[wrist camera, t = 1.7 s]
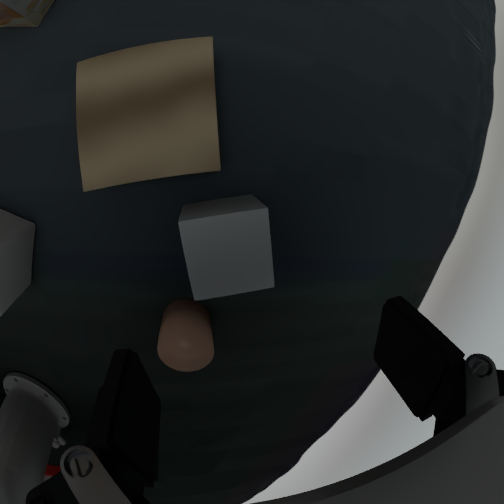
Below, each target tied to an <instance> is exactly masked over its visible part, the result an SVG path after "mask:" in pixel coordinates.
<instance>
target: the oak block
mask: <svg viewBox="0 0 504 504" xmlns="http://www.w3.org/2000/svg"><path fill="white" fill-rule="evenodd" d="M76 117H77V136H78V149H79V159H80V168H81V176H82V183H83V190H84V192H85V191H90V190H95V189H100V188H104V187H110V186H115V185H120V184H126V183H131V182H137V181H143V180H149V179H156V178H163V177H170V176H177V175H185V174H193V173H201V172H210V171H220V170H221V167H220V154H219V141H218V126H217V111H216V95H215V78H214V59H213V37H199V38H189V39H180V40H172V41H165V42H158V43H153V44H147V45H142V46H137V47H132V48H128V49H123V50H119V51H115V52H111V53H107V54H104V55H100V56H97V57H93V58H90V59H87V60H84V61H81V62H78V63H77V74H76Z"/></svg>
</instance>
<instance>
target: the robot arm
mask: <svg viewBox="0 0 504 504" xmlns="http://www.w3.org/2000/svg"><path fill="white" fill-rule="evenodd" d="M464 356H465V354H464V353H463V352H462V351H461V350H460V349H459V348H458V347H457V346H456V345H455V344H454V343H453V342H451V341H450V340H449V339H448V338H447V337H446V336H445V335H444V334H443V333H442V332H441V331H440V330H439V329H438V328H437V327H435V326H434V325H433V324H432V323H431V322H430V321H429V320H428V319H427V318H426V317H424V316H423V315H422V314H421V313H420V312H419V311H418V310H417V309H416V308H414V307H413V306H412V305H411V304H410V303H409V302H408V301H406V300H405V299H404V298H403V297H401V296H397V297H394V298H391V299H388V300H387V301H386V304H384V306H383V309H382V315H381V321H380V326H379V331H378V336H377V341H376V346H375V350H374V359H375V362H376V363H377V364H378V366H379V367H380V368H381V370H382V371H383V373H384V374H385V375H386V376H387V378H388V379H389V381H390V382H391V384H392V385H393V386H394V388H395V389H396V390H397V392H398V393H399V394H400V396H401V397H402V399H403V400H404V402H405V403H406V404H407V406H408V407H409V409H410V410H411V412H412V413H413V414H414V416H416V417H419V418H420V419H421V421H424V420H426V419H428V418H429V417H431V416H432V415H434V416H435V418H436V421H435V429H434V435H433V437H432V438H430V439H429V440H427V441H425V442H424V443H422V444H420V445H418V446H417V447H415V448H413V449H411V450H409V451H408V452H406V453H404V454H402V455H400V456H398V457H396V458H394V459H392V460H390V461H388V462H386V463H383V464H381V465H379V466H377V467H375V468H372V469H370V470H367V471H365V472H363V473H360V474H358V475H355V476H353V477H350V478H348V479H345V480H342V481H339V482H336V483H333V484H330V485H327V486H324V487H321V488H317V489H315V490H311V491H307V492H303V493H300V494H296V495H292V496H288V497H283V498H279V499H274V500H269V501H263V502H257V503H252V504H504V370H497V369H496V367H495V364H494V362H493V361H492V360H491V359H490V358H489V357H487V356H486V355H483V354H473V355H470V356H469V357H468V358H467V359H466V361H465V360H464V359H463V357H464ZM3 386H4V389H5V392H6V394H7V395H6V397H5V399H4V401H3V404H2V406H1V408H0V504H150V503H149V501H148V500H147V499H146V498H145V497H144V496H143V494H144V487H152V488H154V481H157V479H158V452H159V429H160V412H161V403H160V399H159V397H158V395H157V393H156V391H155V389H154V387H153V385H152V383H151V381H150V379H149V377H148V375H147V373H146V371H145V369H144V367H143V365H142V363H141V361H140V359H139V356H138V354H137V353H136V352H132V350H131V349H117V350H115V351H114V353H113V356H112V359H111V362H110V366H109V369H108V372H107V375H106V379H105V382H104V385H102V386H101V388H100V390H99V393H98V396H97V400H96V404H95V407H94V411H93V415H92V419H91V423H90V427H89V431H88V435H87V440H86V444H85V446H81V445H79V446H73V447H71V448H69V449H68V450H66V451H65V452H64V454H63V455H62V457H61V460H60V468H61V471H60V472H58V473H57V474H55V475H54V476H52V477H50V478H49V479H47V480H46V481H44V476H45V472H46V468H47V463H48V459H49V455H50V452H51V448H52V446H53V447H54V448H58V447H59V446H60V444H61V445H65V444H66V440H65V439H64V438H63V437H62V436H61V435H60V431H61V428H64V427H66V426H67V425H68V424H69V421H70V414H69V411H68V409H67V407H66V406H65V404H64V403H63V402H62V401H61V399H60V398H59V397H58V396H57V395H56V394H55V393H53V392H52V391H51V390H50V389H49V388H47V387H46V386H45V385H43V384H42V383H40V382H39V381H37V380H35V379H33V378H32V377H29V376H27V375H25V374H21V373H16V372H12V373H9V374H7V375H6V377H5V378H4V381H3ZM43 481H44V482H43Z"/></svg>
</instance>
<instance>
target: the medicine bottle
mask: <svg viewBox="0 0 504 504" xmlns="http://www.w3.org/2000/svg"><path fill="white" fill-rule="evenodd" d="M35 227H36V226H35V224H34V223H33V222H30V221H28V220H26V219H23V218H21V217H19V216H16V215H14V214H12V213H9V212H7V211H5V210H2V209H0V316H2V314H3V313H4V312H5V311H6V310H7V309H8V308H9V307H10V305H11V304H12V303H13V302H14V301H15V300H16V299H17V298H18V297H19V296H20V295H21V294H22V293H23V291H24V290H25V289H26V288H27V287H28V286H29V285H30V284H31V275H32V257H33V245H34V235H35Z"/></svg>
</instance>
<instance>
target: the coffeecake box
mask: <svg viewBox="0 0 504 504" xmlns="http://www.w3.org/2000/svg"><path fill="white" fill-rule="evenodd" d="M54 1H55V0H0V27H38V26H39V24H40V23H41V21H42V20H43V18H44V17H45V15H46V14H47V12H48V10H49V9H50V7H51V5H52V4H53V2H54Z"/></svg>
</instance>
